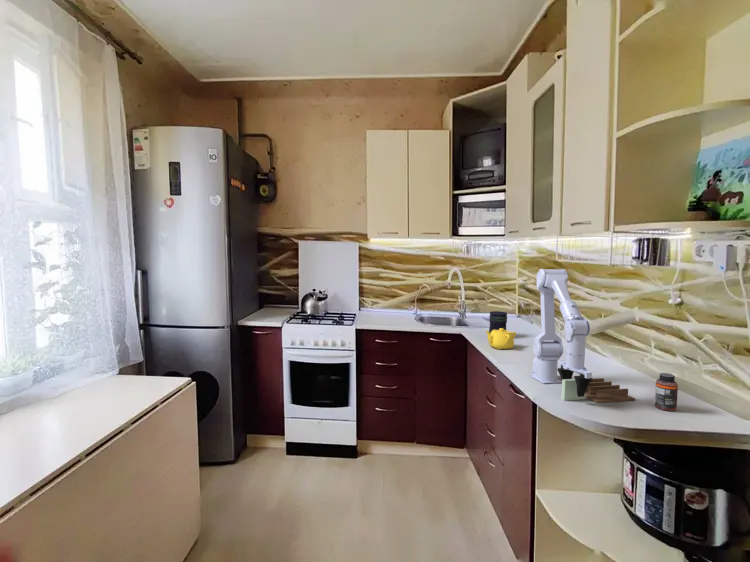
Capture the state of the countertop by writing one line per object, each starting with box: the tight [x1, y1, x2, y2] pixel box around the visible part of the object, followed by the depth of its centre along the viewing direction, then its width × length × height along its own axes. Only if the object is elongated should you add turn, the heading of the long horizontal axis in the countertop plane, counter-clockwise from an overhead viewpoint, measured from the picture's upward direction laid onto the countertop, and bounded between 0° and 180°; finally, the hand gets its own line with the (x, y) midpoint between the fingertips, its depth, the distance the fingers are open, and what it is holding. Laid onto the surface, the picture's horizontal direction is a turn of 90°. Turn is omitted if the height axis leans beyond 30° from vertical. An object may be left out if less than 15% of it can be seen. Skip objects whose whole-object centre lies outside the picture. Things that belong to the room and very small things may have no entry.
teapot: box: [485, 328, 517, 350], centre depth 213 cm, size 14×13×10 cm
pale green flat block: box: [560, 378, 586, 402], centre depth 141 cm, size 2×8×7 cm, turn 100°
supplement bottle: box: [654, 372, 679, 412], centre depth 133 cm, size 6×6×11 cm
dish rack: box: [585, 377, 636, 404], centre depth 146 cm, size 15×15×4 cm
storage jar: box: [488, 310, 508, 334], centre depth 236 cm, size 10×10×15 cm
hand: (573, 392), depth 141 cm, fingers open, 7 cm apart
